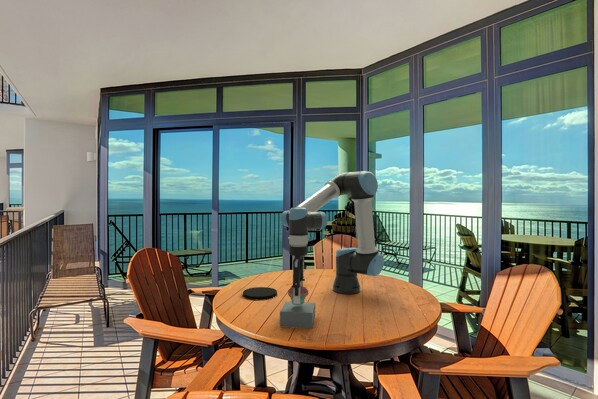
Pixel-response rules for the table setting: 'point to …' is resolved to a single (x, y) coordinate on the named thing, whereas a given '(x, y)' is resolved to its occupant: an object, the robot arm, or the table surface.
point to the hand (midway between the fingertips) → (298, 300)
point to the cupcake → (302, 294)
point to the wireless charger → (259, 293)
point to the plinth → (297, 315)
